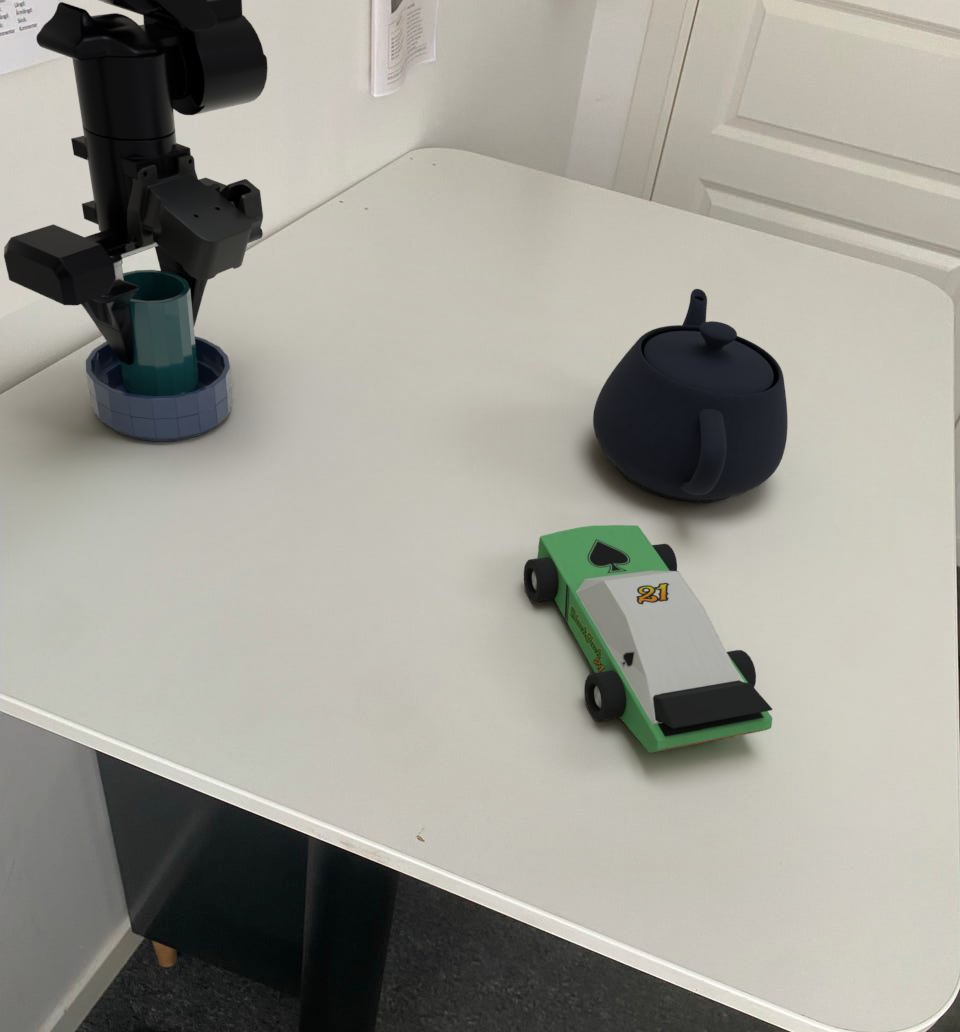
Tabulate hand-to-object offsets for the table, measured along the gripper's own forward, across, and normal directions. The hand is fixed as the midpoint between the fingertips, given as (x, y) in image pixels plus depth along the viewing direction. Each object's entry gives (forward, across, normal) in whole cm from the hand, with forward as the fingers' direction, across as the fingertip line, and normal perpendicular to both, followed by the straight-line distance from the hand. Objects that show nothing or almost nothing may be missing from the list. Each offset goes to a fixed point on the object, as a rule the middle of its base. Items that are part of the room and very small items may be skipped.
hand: (156, 349), depth 72 cm
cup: (+3, 0, 0) cm, 3 cm away
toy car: (+5, -2, -43) cm, 43 cm away
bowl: (+5, 0, 0) cm, 5 cm away
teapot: (+5, +22, -36) cm, 43 cm away
